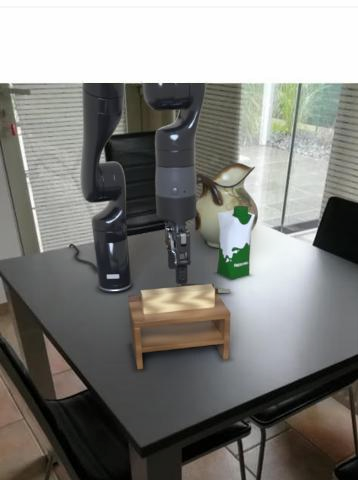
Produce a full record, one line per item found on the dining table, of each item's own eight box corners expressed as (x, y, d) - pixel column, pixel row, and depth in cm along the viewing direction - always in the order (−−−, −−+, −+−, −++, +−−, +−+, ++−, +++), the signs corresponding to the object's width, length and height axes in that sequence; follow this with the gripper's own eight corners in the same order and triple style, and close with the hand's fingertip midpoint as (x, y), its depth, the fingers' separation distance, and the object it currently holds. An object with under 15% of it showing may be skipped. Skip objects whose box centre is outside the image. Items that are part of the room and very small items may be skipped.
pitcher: (260, 236, 177) (266, 162, 163) (248, 257, 159) (253, 176, 145) (202, 232, 183) (202, 160, 169) (184, 252, 165) (182, 173, 150)
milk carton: (230, 281, 141) (233, 211, 130) (212, 272, 148) (214, 205, 137) (253, 275, 145) (258, 206, 134) (235, 266, 152) (238, 200, 140)
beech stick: (210, 301, 104) (211, 283, 101) (214, 307, 101) (215, 289, 99) (141, 308, 101) (140, 290, 99) (143, 314, 99) (142, 296, 97)
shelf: (132, 345, 111) (127, 295, 104) (216, 335, 114) (217, 287, 107) (137, 369, 102) (133, 317, 95) (228, 359, 105) (230, 307, 98)
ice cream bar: (230, 290, 136) (178, 288, 138) (230, 284, 135) (178, 283, 137) (230, 297, 132) (176, 296, 134) (230, 291, 131) (175, 290, 133)
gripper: (204, 198, 83) (203, 287, 92) (188, 181, 94) (188, 262, 104) (161, 201, 82) (165, 290, 91) (150, 184, 93) (154, 264, 103)
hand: (177, 275), depth 97 cm, fingers open, 8 cm apart
